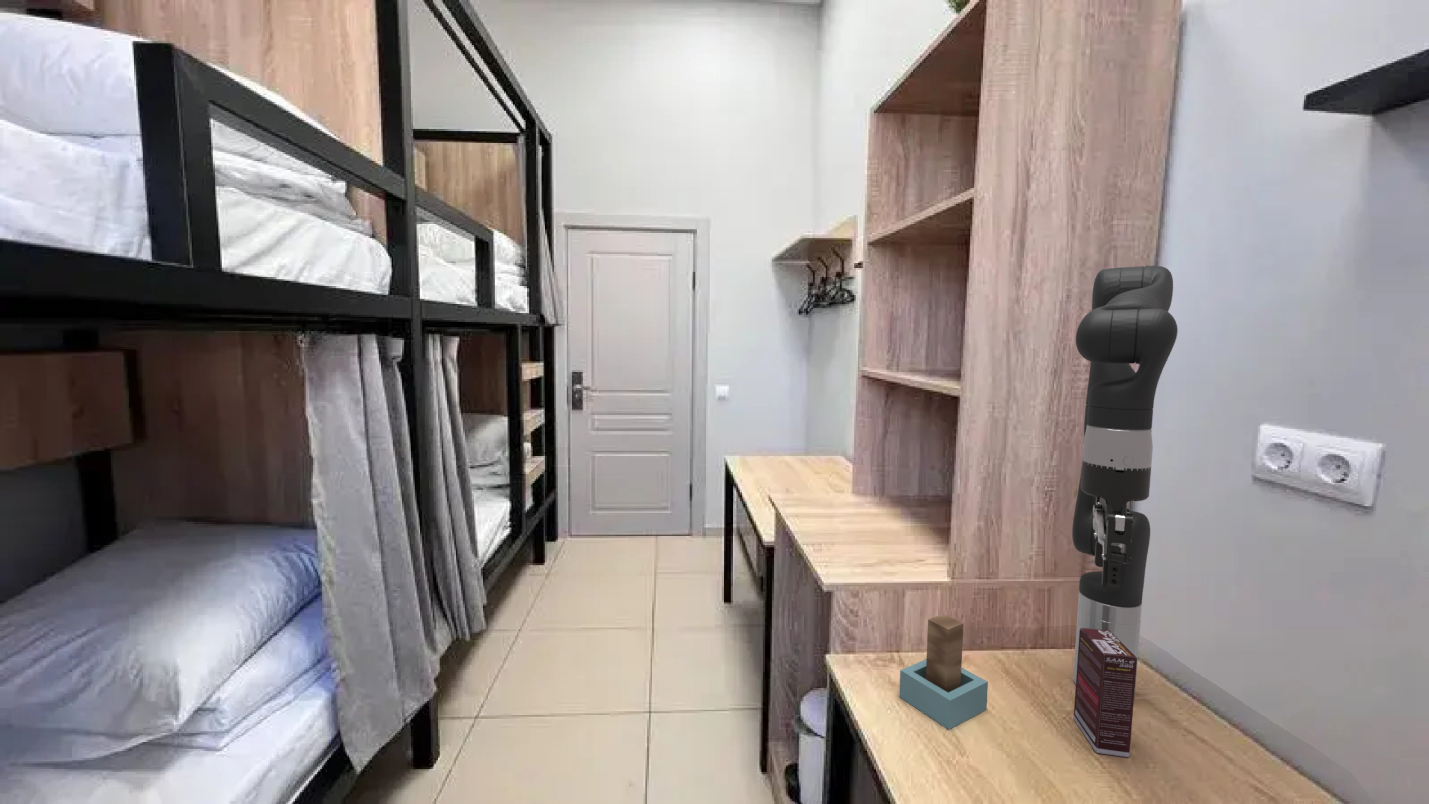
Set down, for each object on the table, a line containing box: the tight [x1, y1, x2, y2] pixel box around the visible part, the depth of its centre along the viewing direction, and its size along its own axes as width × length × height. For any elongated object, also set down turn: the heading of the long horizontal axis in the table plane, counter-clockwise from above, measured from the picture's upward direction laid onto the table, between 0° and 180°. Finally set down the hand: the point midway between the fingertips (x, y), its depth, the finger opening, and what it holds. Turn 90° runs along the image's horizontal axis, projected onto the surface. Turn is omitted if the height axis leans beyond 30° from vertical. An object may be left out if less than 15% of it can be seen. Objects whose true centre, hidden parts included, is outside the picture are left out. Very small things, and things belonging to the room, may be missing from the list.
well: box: [898, 658, 989, 731], centre depth 97 cm, size 10×10×5 cm
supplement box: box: [1073, 628, 1138, 758], centre depth 88 cm, size 9×5×16 cm, turn 168°
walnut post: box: [926, 613, 964, 693], centre depth 96 cm, size 4×4×14 cm
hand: (1107, 577), depth 76 cm, fingers open, 8 cm apart
